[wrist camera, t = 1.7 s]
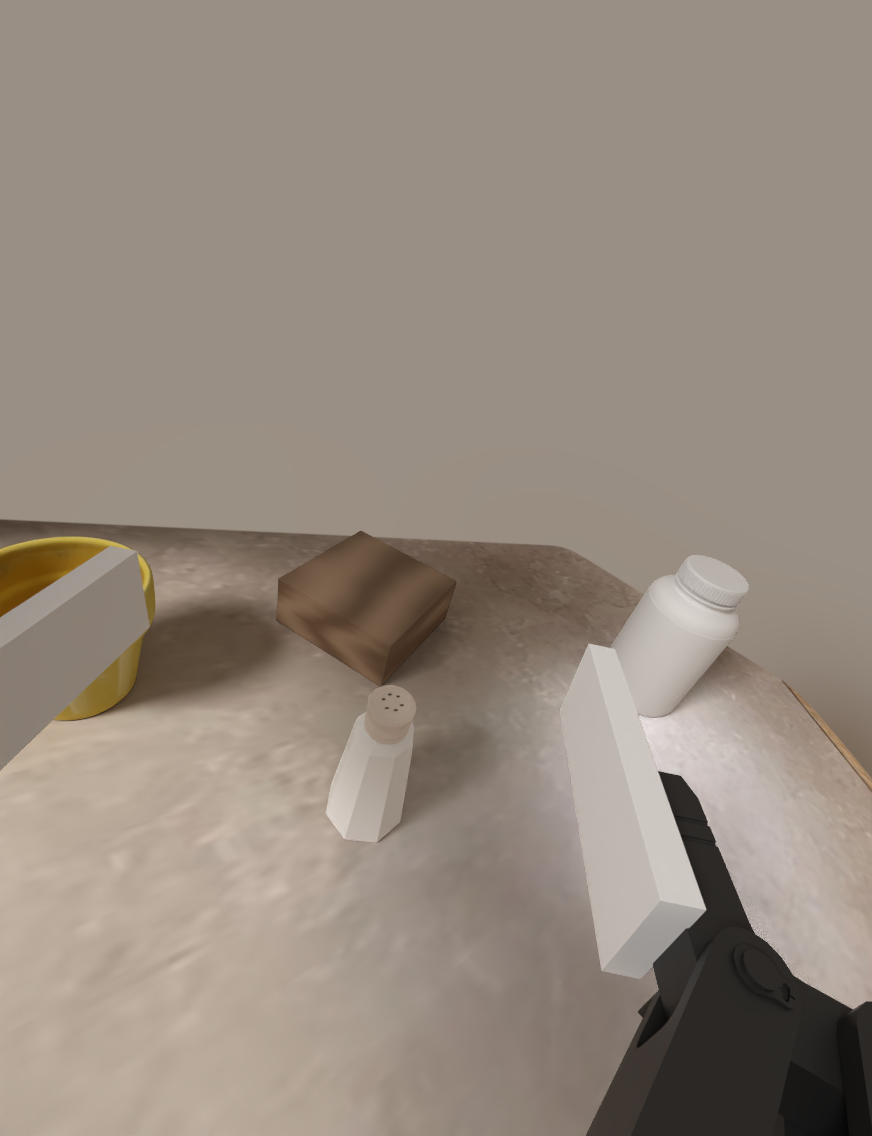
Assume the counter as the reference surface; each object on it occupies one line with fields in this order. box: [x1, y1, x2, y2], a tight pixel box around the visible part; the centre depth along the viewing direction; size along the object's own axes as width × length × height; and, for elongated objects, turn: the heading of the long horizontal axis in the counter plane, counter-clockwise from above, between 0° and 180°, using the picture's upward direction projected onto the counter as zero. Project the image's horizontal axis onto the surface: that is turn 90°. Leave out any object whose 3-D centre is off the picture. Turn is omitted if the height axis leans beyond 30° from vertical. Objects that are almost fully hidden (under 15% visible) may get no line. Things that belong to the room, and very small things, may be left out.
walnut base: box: [277, 531, 457, 687], centre depth 46 cm, size 12×12×5 cm
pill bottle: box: [610, 555, 749, 717], centre depth 44 cm, size 8×8×15 cm
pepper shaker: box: [326, 685, 416, 843], centre depth 29 cm, size 5×5×11 cm
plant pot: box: [0, 537, 155, 720], centre depth 32 cm, size 10×10×10 cm
